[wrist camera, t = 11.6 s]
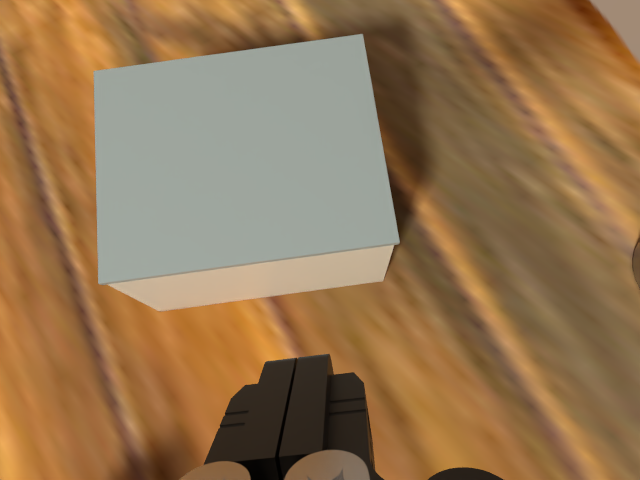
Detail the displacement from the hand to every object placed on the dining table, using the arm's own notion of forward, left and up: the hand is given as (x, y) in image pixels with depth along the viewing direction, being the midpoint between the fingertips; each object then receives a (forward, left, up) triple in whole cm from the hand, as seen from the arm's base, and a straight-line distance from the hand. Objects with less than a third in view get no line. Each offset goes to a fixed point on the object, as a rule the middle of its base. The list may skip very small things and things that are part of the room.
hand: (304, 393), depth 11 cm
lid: (+4, -18, -19) cm, 26 cm away
